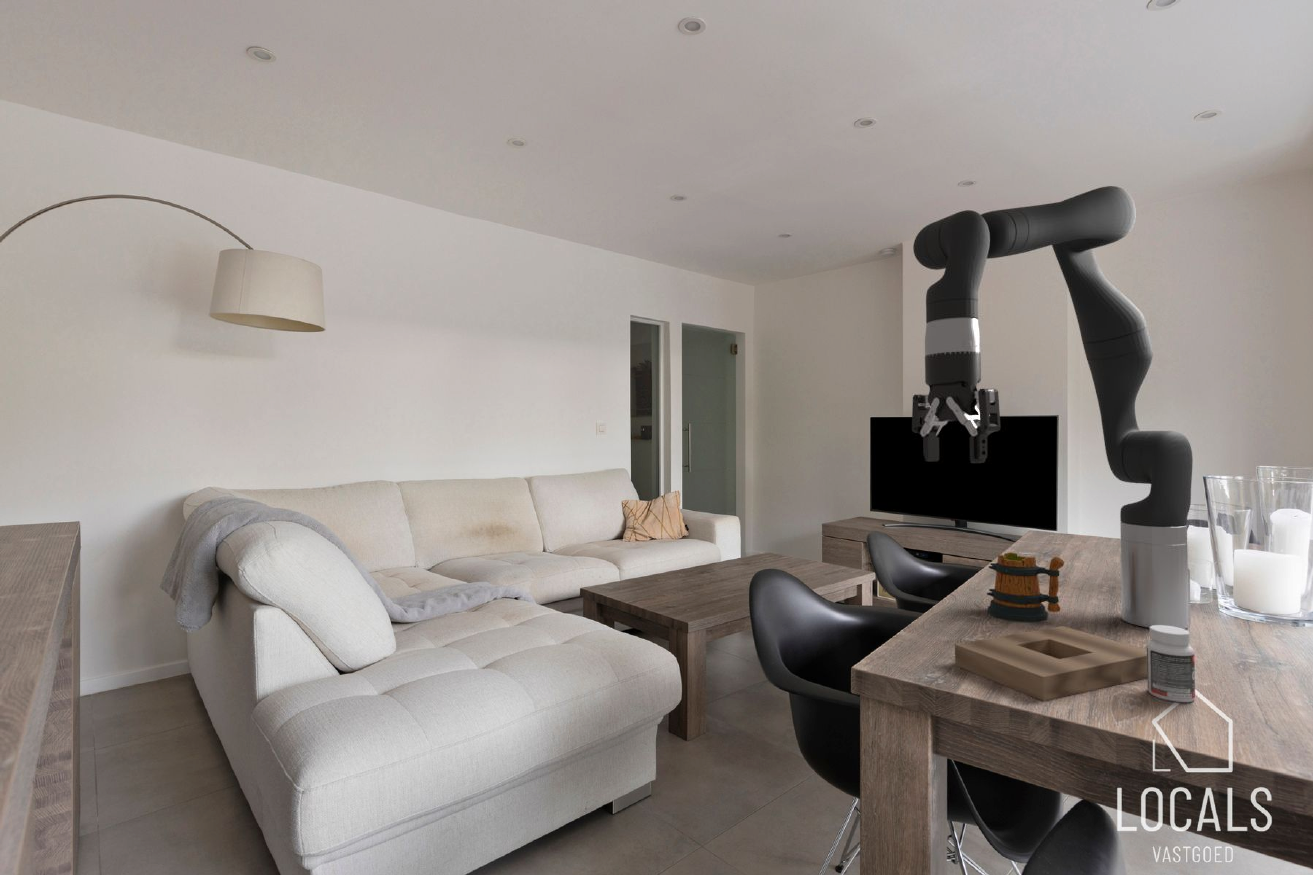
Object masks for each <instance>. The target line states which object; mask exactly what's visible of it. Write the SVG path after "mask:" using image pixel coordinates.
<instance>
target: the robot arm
mask: <svg viewBox="0 0 1313 875" xmlns="http://www.w3.org/2000/svg"><path fill="white" fill-rule="evenodd" d="M1135 205H1136V204H1135V201H1134V199H1133V197H1132V195H1131V194H1130V193H1129V192H1128V191H1127V190H1125V189H1123V188H1122V187H1118V186H1116V185H1107V186H1102V187H1098V188H1095V189H1092V190H1089V191H1086V192H1083V193H1080V194H1078V195H1075V196H1073V197H1069V198H1066V199H1063V200H1061V201H1059V202H1050V203H1043V204H1038V205H1028V206H1022V207H1021V206H1020V207H1012V208H1003V209H997V210H992V211H991V210H990V211H988V212H984V213H981V214H980V213H979V212H977V211H976V210H970V209H969V210H968V209H966V210H960V211H958V212H955V213H953V214H951V215H949V216H946V217H944V218H943V217H942V218H941V219H939V220H936V221H934V222H931V223H929V224H927V225H925V226H924V227H923V228H922V229H921V230H919V232H918V233H917V234H916V236H915V238H914V241H913V247H912V248H913V254H914V257H915V259H916V260H917V262H918V263H919V264H920V265H921V266H923V267H924V268H927V269H929V270H935V271H939V270H944V272H943V274H942V276H941V277H940V279H938V280H937V281H935V282H934V283H933V284H931V285H930V286H929V287H928V288H927V291H926V293H925V294H926V295H925V314H926V315H925V319H926V320H925V321H926V324H925V325H926V326H925V334H924V380H925V381H924V384H925V385H927V386H928V387H929V392H928V394H921V393H919V394H914V395H913V396H912V412H911V413H912V415H911V418H912V419H911V431H912V432H913V433H914V434H915V433H916V434H919V435H921V437H922V439H923V441H922V442H923V443H922V444H923V446H922V447H923V448H922V449H923V451H922V452H923V457H924V461H925V462H939V460H940V436H938V435H939V433H940V431H941V430H942V428H943V427H944V426H946V425H947V424H948V422H957V421H959V423H960V424H961V425H963V426H964V427H965V428H966V429H967V431H968V433H969V434H970V435H971V436H969V461H970V462H969V463H971V464H983V463H985V462H986V459H987V458H988V436H989V435H990V434H992V433H994V432H999V431H1000V430H1001V428H1002V427H1001V413H1000V400H999V396H1000V395H999V390H998V389H996V388H979V387H978V384H979V383H981V381H982V366H981V365H982V360H981V358H982V356H981V350H982V349H981V331H980V325H979V301H978V300H979V299H978V298H979V297H978V294H979V289H980V284H981V282H982V278H983V275H984V270H985V266H986V263H987V260H988V259H990V260H991V259H997V258H998V259H999V258H1004V257H1011V256H1015V255H1019V254H1024V253H1029V252H1032V251H1035V250H1038V249H1043V248H1045V247H1050V246H1051V247H1052V250H1053V253H1054V255H1055V258H1056V260H1057V262H1058V263H1057V264H1058V265H1059V268H1060V272H1062V276H1063V278H1064V280H1065V284H1066V286H1067V289H1068V292H1069V296H1070V299H1071V302H1072V305H1073V309H1074V313H1075V315H1076V320H1077V323H1078V324H1077V325H1078V328H1079V331H1080V337H1081V341H1082V342H1081V343H1082V345H1083V350H1084V355H1085V358H1086V360H1087V364H1088V368H1089V371H1090V374H1091V378H1092V382H1093V386H1094V389H1095V394H1096V398H1097V403H1098V407H1099V412H1100V419H1101V427H1102V434H1103V440H1104V441H1103V442H1104V448H1105V455H1106V459H1107V462H1108V466H1109V468H1110V472H1112V474H1113V475H1114V477H1115V478H1117V479H1118V481H1121V482H1125V483H1129V484H1131V483H1132V484H1146V485H1147V484H1148V485H1150V488H1149V489H1150V490H1149V494H1148V495H1147V496H1146V497H1145V498H1143V499H1142V500H1139V501H1136V502H1132V503H1127V504H1125V505H1123V506H1122V507H1121V508H1120V513H1119V514H1120V516H1119V517H1120V524H1119V525H1120V573H1121V574H1120V578H1121V579H1120V580H1121V584H1120V585H1121V588H1120V590H1121V597H1120V598H1121V620H1123V621H1125V622H1126V623H1129V624H1130V625H1131V624H1132V625H1135V626H1140V627H1143V628H1148V629H1150V626H1153V625H1166V626H1173V627H1178V628H1182V629H1185V630H1187V629H1188V628H1189V625H1190V624H1191V622H1192V621H1191V571H1190V569H1189V564H1188V562H1189V561H1188V557H1189V556H1188V555H1189V554H1188V516H1189V512H1190V509H1191V502H1192V480H1193V463H1194V462H1193V451H1192V447H1191V443H1190V442H1189V439H1188V438H1187V437H1186V435H1184V434H1183V433H1182V432H1180V431H1175V430H1140V428H1139V426H1138V422H1137V416H1136V405H1135V404H1136V399H1137V396H1138V393H1139V391H1140V389H1141V386H1142V384H1143V382H1144V380H1145V378H1146V376H1147V374H1148V372H1149V370H1150V366H1151V364H1152V360H1153V352H1154V351H1153V346H1152V345H1153V344H1152V341H1151V338H1150V334H1149V329H1148V326H1147V323H1146V318H1145V316H1144V315H1143V312H1142V311H1141V310H1140V309H1139V308H1138V307H1137V306H1136V305H1135V303H1133V301H1131V300H1130V299H1129V298H1128V297H1126V295H1125V294H1123V293H1122V292H1121V291H1120V290H1118V289H1117V288H1116V287H1115V286H1114V285H1113V284H1112V283H1111V282H1110V281H1109V280H1108V279H1107V278H1106V276H1105V275H1104V273H1103V272H1102V270H1101V268H1100V265H1099V263H1098V260H1097V258H1096V255H1095V252H1094V249H1097V248H1101V247H1103V246H1104V247H1105V246H1107V245H1110V244H1113V243H1116V242H1118V241H1120V240H1122V239H1124V237H1126V236H1127V235H1128V234H1129V233H1130V232H1131V231H1132V230H1133V227H1134V225H1135V222H1136V216H1137V210H1136V206H1135ZM977 404H978V407H977Z"/></svg>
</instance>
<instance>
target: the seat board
mask: <svg viewBox="0 0 1313 875" xmlns="http://www.w3.org/2000/svg"><path fill="white" fill-rule="evenodd" d="M954 662H955V663H954V666H957V667H959V668H962V669H964V670H966V671H970V673H971V672H972V673H974V674H976V675H979V676H981V677H983V678H986V679H989V680H991V681H993V682H996V683H999V684H1001V685H1003V686H1006V687H1008V688H1010V689H1013V690H1016V691H1018V692H1020V693H1022V694H1026V695H1027V696H1031V697H1033V698H1035V699H1038V700H1039V701H1042V702H1045V701H1049V700H1051V701H1052V700H1053V699H1054V700H1055V699H1060V698H1065V697H1068V696H1072V695H1073V696H1074V695H1078V694H1081V693H1082V694H1083V693H1086V692H1091V691H1094V690H1099V689H1100V690H1101V689H1103V688H1109V687H1114V686H1117V685H1122V684H1126V683H1131V682H1135V681H1139V680H1144V679H1147V678H1148V677H1147V648H1141V647H1138V646H1135V645H1131V644H1128V643H1124V642H1120V641H1118V640H1113V639H1110V638H1107V637H1103V636H1099V635H1096V634H1092V633H1088V632H1085V631H1081V630H1077V629H1075V628H1071V627H1067V626H1064V625H1059V626H1057V627H1056V626H1054V627H1049V628H1044V629H1038V630H1033V631H1032V630H1031V631H1025V632H1020V633H1015V634H1008V635H1002V636H997V637H991V638H985V639H977V640H973V641H966V642H960V643H956V644H954Z"/></svg>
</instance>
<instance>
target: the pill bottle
mask: <svg viewBox="0 0 1313 875" xmlns="http://www.w3.org/2000/svg"><path fill="white" fill-rule="evenodd" d="M1148 636H1149V638H1150V640H1149V641H1148V642H1147V644H1146V650H1147V677H1148V678H1146V679H1147V681H1146V682H1147V692H1148V693H1149V694H1151V696H1154V697H1155V698H1159V699H1161V700H1164V701H1170V702H1176V703H1177V702H1178V703H1191V702H1194V701H1195V699H1196V674H1195V665H1196V664H1195V650H1194V648H1193V647H1192V646H1191V645H1190V644H1191V636H1190V631H1189V630H1187V629H1182V628H1178V627H1173V626H1166V625H1153V626H1150V628H1149V634H1148Z"/></svg>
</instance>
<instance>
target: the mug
mask: <svg viewBox="0 0 1313 875" xmlns="http://www.w3.org/2000/svg"><path fill="white" fill-rule="evenodd" d="M1064 565H1065V561H1064V560H1063V559H1062V558H1060V557H1059V556H1054V557H1052V559H1051V560H1050V563H1049V568H1046V567H1042V566H1038V565H1037V561H1036V556H1031V557H1030V556H1029V557H1028V556H1022V555H1018V553H1016V552H1011V551H1010V552H1005V553H1004V555H1003V554H1002V555H1001V554H999V555H997V562H996V563H995V562H994V563H992V562H991V563H990V565H988V569H991V570H993V571H994V572H995V581H994V582H995V583H994V588H989V589H988V591H989V592H986V595H987V596H990V597H992V598H993V599H991V600H990V602H989V604H990V605H988V606H987V613H988V615H990V616H992V617H995V618H998V619H1002V620H1006V621H1011V622H1021V623H1040V622H1046V621H1047V620H1048V619H1049V613H1048V612H1050V613H1058V612H1060V611H1061V606H1060V605H1059V602H1060V601H1059V596H1058V592H1059V577H1060V570H1059V569H1061V568H1063V567H1064ZM1041 574H1045V575H1047V576H1049V581H1048V582H1049V586H1048V594H1043V593H1041V589H1040V581H1039V575H1041ZM1044 602H1045V603H1046V602H1047V604H1048V605H1047V610H1046V606H1045V604H1043V603H1044Z"/></svg>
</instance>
